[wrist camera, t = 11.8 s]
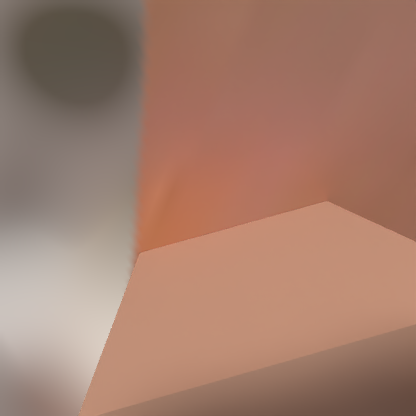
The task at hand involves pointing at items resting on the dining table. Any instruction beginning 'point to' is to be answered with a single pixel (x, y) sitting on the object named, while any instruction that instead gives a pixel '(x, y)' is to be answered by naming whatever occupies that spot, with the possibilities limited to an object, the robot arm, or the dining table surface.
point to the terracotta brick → (267, 323)
